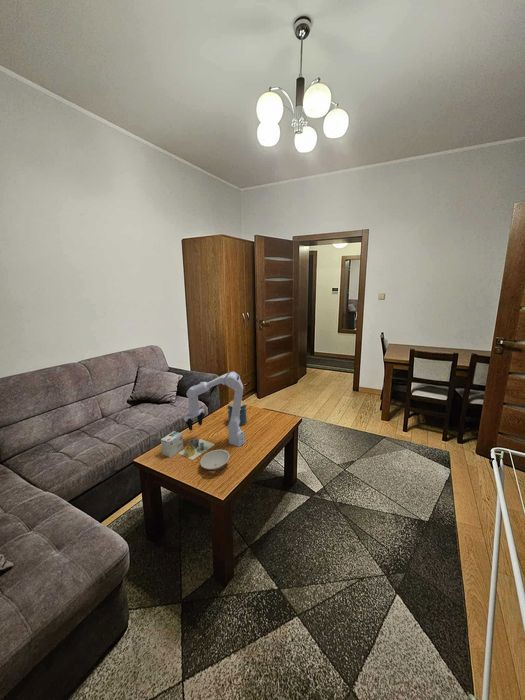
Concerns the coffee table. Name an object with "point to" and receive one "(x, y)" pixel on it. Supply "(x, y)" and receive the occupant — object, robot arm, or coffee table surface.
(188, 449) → the gear
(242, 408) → the canister
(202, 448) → the gear board
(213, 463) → the dish
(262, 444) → the coffee table surface
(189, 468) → the coffee table surface
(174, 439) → the light bulb box
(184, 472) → the coffee table surface
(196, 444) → the gear
